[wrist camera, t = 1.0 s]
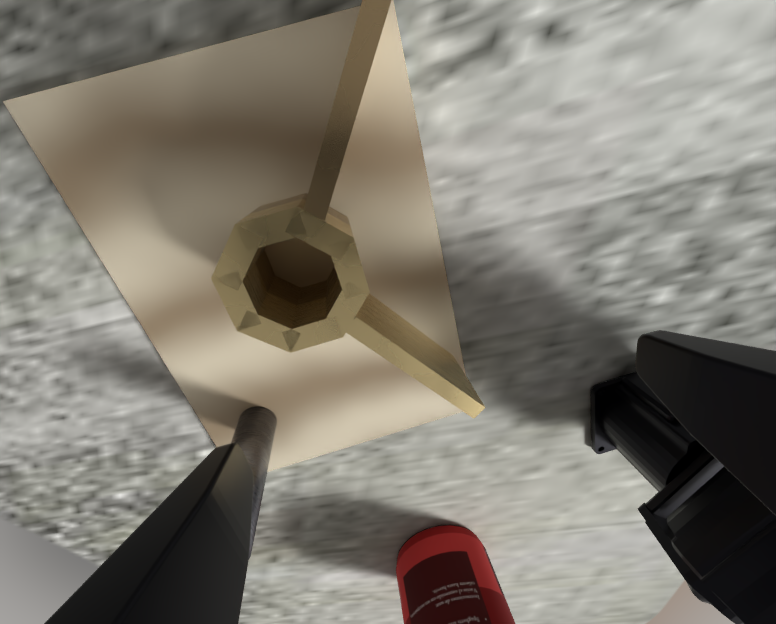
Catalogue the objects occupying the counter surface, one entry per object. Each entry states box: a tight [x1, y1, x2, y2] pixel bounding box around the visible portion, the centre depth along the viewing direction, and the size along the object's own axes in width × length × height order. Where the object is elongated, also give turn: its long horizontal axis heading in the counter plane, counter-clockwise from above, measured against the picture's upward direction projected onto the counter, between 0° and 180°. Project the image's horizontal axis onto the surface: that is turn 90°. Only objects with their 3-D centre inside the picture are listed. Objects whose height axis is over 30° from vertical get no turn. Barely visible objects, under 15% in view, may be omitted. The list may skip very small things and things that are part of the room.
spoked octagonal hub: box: [211, 0, 485, 418], centre depth 16 cm, size 18×9×5 cm, turn 14°
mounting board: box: [3, 0, 466, 472], centre depth 19 cm, size 22×16×1 cm
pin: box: [231, 406, 277, 560], centre depth 18 cm, size 2×2×8 cm
